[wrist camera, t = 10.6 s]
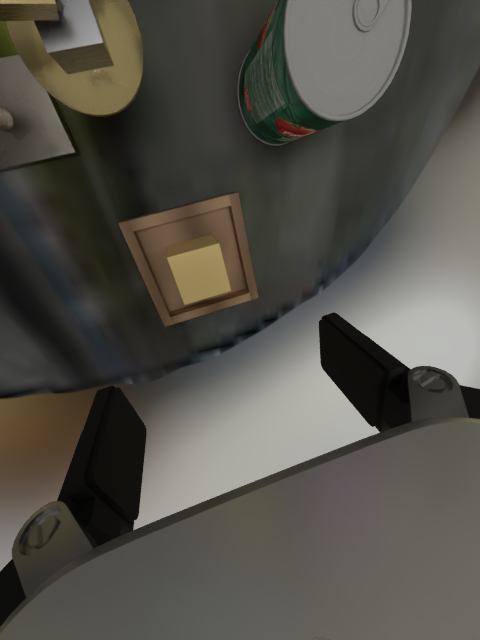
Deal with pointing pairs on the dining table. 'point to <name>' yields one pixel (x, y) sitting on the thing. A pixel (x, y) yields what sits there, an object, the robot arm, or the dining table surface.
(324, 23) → the canned tomato
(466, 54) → the dining table surface
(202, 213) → the walnut tray
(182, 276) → the ochre block
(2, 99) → the balance
